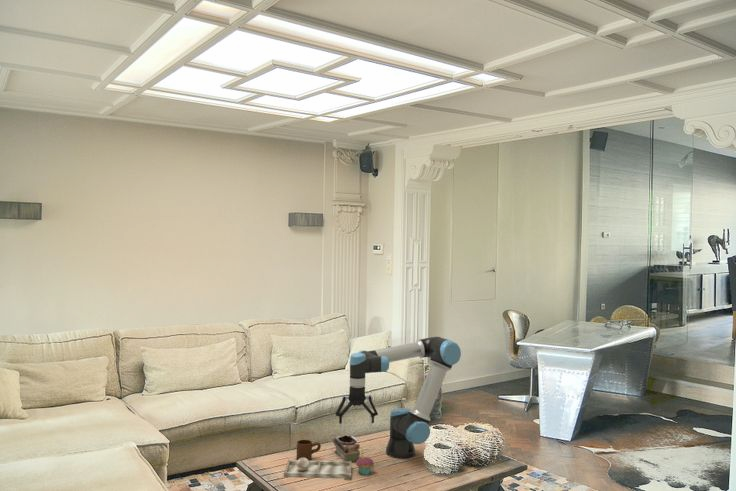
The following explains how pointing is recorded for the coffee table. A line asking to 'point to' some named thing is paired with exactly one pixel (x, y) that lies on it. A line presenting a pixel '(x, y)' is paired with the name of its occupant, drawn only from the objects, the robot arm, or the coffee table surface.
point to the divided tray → (320, 469)
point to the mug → (306, 449)
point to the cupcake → (364, 464)
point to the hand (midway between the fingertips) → (356, 430)
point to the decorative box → (347, 447)
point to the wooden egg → (302, 464)
